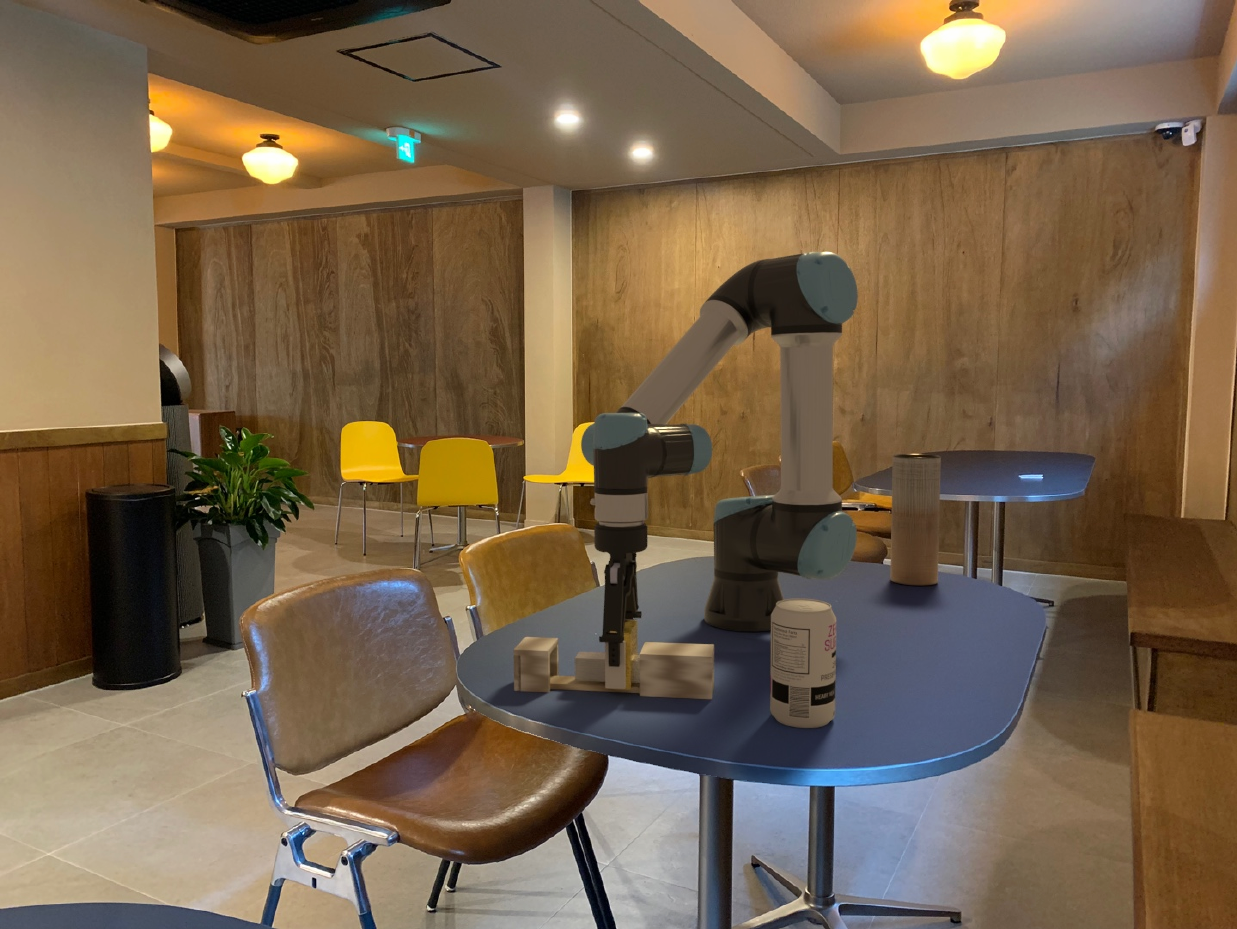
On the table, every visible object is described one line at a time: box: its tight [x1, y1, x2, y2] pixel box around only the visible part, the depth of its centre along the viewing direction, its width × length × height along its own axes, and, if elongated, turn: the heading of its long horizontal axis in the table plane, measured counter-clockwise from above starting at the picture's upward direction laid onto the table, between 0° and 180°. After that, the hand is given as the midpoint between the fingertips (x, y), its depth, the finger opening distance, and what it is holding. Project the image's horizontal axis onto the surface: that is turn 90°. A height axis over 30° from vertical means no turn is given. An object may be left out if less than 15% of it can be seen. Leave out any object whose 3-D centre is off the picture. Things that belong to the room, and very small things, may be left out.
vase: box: [889, 453, 942, 587], centre depth 198 cm, size 10×10×28 cm
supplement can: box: [769, 598, 837, 729], centre depth 117 cm, size 8×8×15 cm
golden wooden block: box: [574, 620, 715, 690], centre depth 129 cm, size 20×7×8 cm, turn 81°
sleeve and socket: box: [513, 636, 715, 700], centre depth 130 cm, size 28×7×6 cm, turn 81°
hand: (621, 674), depth 130 cm, fingers open, 11 cm apart
